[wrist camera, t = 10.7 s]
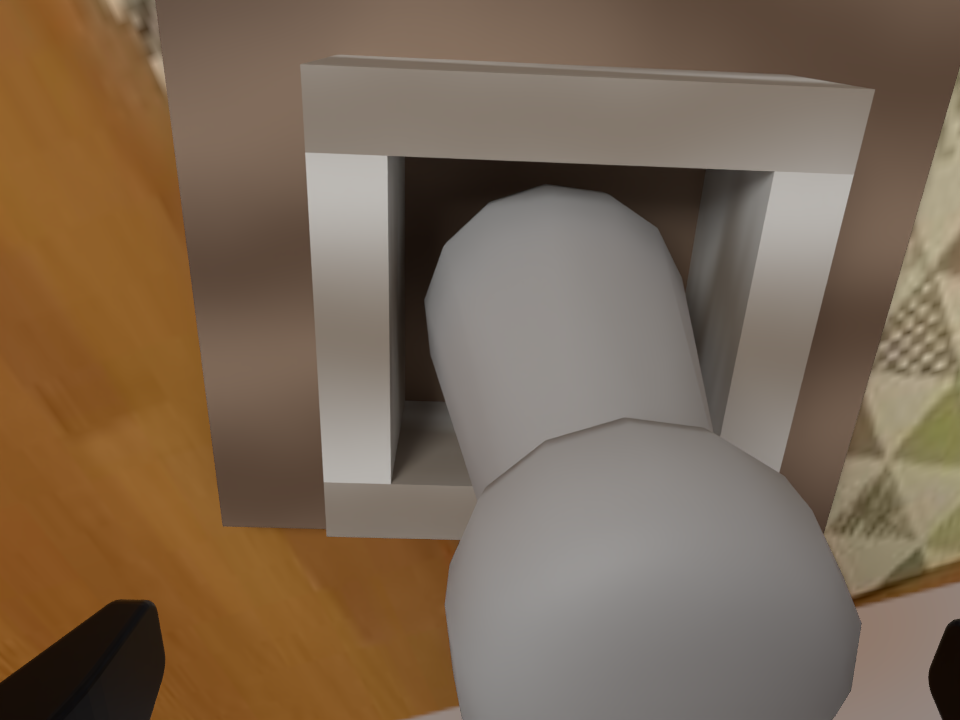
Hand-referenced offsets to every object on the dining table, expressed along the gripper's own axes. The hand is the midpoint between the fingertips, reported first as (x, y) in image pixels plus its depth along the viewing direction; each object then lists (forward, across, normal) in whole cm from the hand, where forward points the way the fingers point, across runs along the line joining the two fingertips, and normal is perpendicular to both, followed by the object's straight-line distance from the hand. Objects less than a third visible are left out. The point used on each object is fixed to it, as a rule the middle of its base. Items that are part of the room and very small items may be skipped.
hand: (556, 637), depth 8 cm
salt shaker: (+12, -1, 0) cm, 12 cm away
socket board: (+13, -1, 0) cm, 13 cm away
